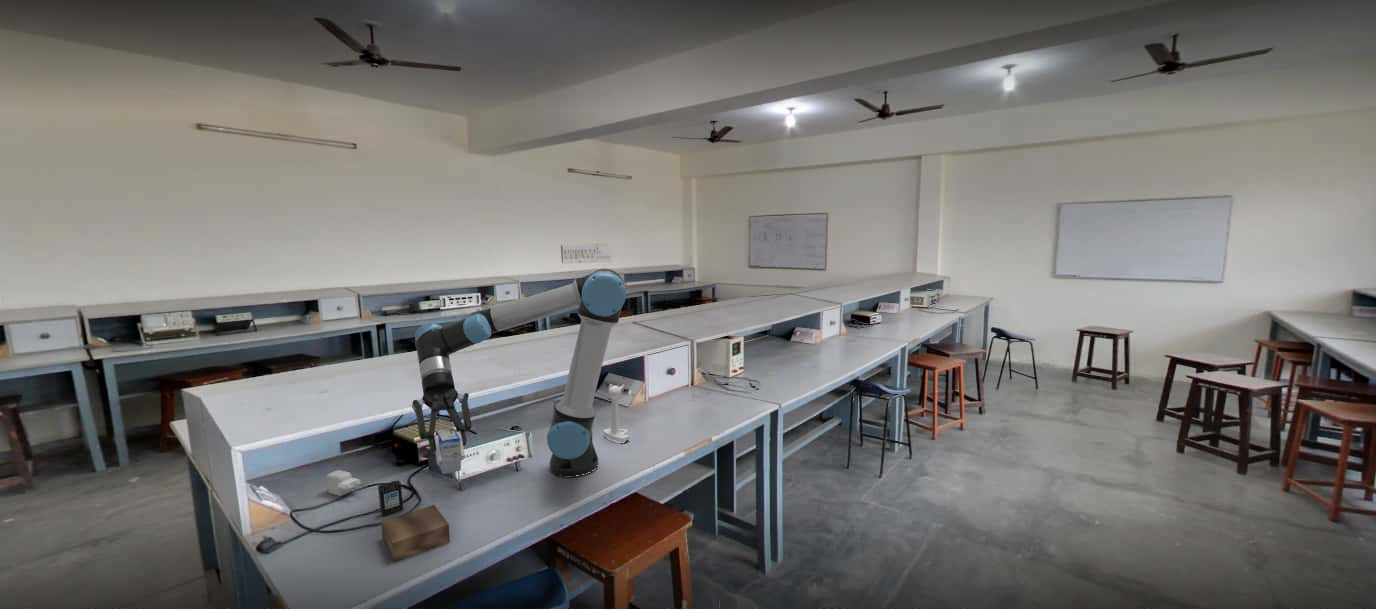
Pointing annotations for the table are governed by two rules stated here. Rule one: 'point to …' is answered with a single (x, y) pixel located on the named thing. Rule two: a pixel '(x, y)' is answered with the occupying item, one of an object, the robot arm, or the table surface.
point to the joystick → (615, 418)
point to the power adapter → (341, 483)
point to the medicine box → (449, 450)
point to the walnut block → (415, 532)
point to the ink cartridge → (390, 498)
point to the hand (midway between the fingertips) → (451, 460)
